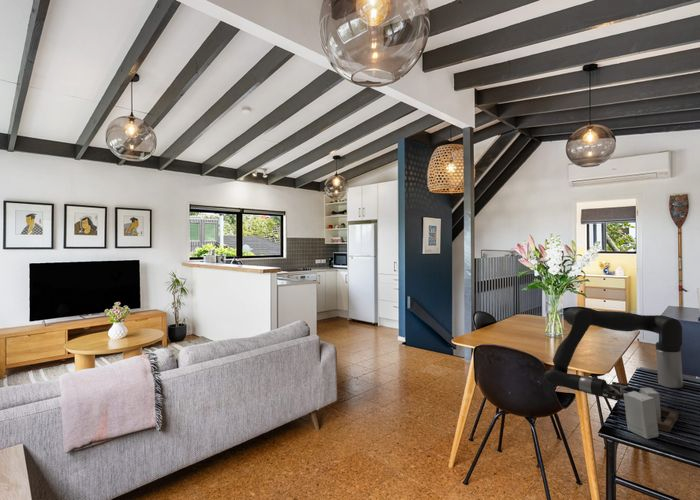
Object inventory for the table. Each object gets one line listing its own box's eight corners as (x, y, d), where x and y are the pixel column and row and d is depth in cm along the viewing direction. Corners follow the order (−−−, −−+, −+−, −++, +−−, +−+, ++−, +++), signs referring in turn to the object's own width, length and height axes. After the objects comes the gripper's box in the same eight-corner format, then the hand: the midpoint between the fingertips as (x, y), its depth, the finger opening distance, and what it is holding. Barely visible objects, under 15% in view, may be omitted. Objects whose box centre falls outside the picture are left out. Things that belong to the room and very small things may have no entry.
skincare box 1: (661, 422, 153) (659, 393, 152) (649, 422, 154) (647, 393, 153) (653, 415, 159) (651, 387, 158) (641, 415, 160) (639, 387, 159)
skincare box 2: (659, 436, 144) (656, 398, 143) (646, 440, 142) (643, 401, 142) (637, 426, 152) (635, 389, 151) (625, 429, 150) (622, 392, 150)
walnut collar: (636, 407, 166) (636, 402, 166) (678, 417, 155) (677, 411, 155) (625, 420, 157) (625, 414, 156) (669, 432, 146) (668, 426, 146)
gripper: (586, 382, 167) (630, 392, 154) (597, 373, 176) (640, 381, 163) (587, 399, 167) (632, 410, 155) (598, 388, 176) (641, 398, 164)
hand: (636, 395), depth 159 cm, fingers open, 8 cm apart
